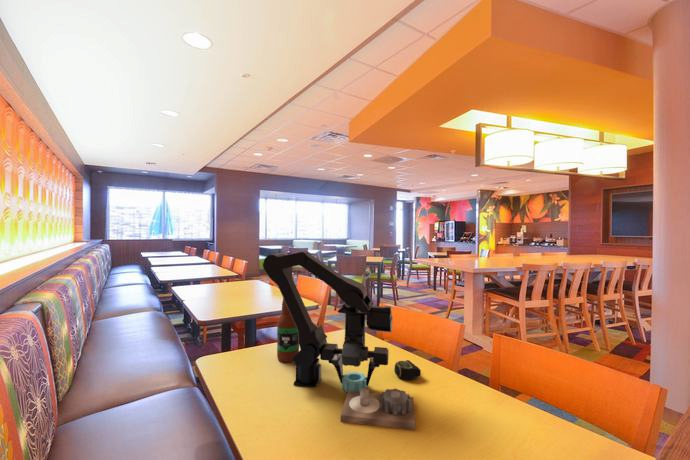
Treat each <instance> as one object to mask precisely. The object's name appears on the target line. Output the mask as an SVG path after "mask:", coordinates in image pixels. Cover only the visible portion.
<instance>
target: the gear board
mask: <svg viewBox="0 0 690 460" xmlns="http://www.w3.org/2000/svg"><path fill="white" fill-rule="evenodd" d="M346 393H347V394H346V397H345V400H344V403H343V406H342V409H341V413H340V422H341V423H342V422H343V423H351V424H361V425H368V426H377V427H385V428H394V429H401V430H402V429H403V430H413V431H416V416H415V405H414V404H415V403H414V397H412V396H410V394H409V393H406V391H405V390H402V389H401V390H400V389H398V388H392V389H390V388H387V389H385V391H381V393H373V392H370V389H369V388H368V387H367V388H362V389H360V392H354V391H348V392H346Z"/></svg>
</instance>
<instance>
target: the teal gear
mask: <svg viewBox="0 0 690 460" xmlns="http://www.w3.org/2000/svg"><path fill="white" fill-rule="evenodd" d="M341 388H342V389H343V390H344V391H345V392H346V393H348V391H354V392H360V389H362V388H367V389H368V386H367V375H365V373H363V372H362V373H361V372H358V371H352V372H351V371H349V372H347V373H343V378H342V383H341Z"/></svg>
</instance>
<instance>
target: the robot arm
mask: <svg viewBox="0 0 690 460" xmlns="http://www.w3.org/2000/svg"><path fill="white" fill-rule="evenodd" d="M296 266H297V267H298V266H300V267H302V268H303V269H304V270H306V271H307V272H309V273H311V274H312V275H314V277H316V278H318V279H319V280H320V281H321V282H324V284H326V285H327V286H329V287H330V288H332V290H333V291H334V292H335V293H336V295H337V296H338V298H339V299H341V300H342V301H343V302H344V303H343V304H342V305H341V307H340V308H339V309H338V310H337V312H338V313H339V314H344V341H343V343H342V348H339V345H338V343H328V341H327V338H328V336H327V334H326V333H325V331H324V327H323V325H322V324H320V325H318V326H317V325H316V324H315V323H314V322H313V321H312V319H311V316H310V313H309V312H308V310H307V307H306V306H305V303H304V301H303V299H302V297H301V294H300V292H299V290H298V288H297V285H296V283H295V281H294V279H293V267H296ZM262 268H263V270H264V272H265V273H266V275H267V276H268V278H269V279H270V280H271V281H272V282H273V283H274V284H275V285H276V286H277V287H278V289H279V292H280V293H281V295H282V299H283V298H284V300H285V303H286V305H287V307H288V309H289V312H290V314H291V316H292V318H293V320H294V323H295V325H296V327H297V329H298V340H299V352H298V353H297V354H296V355H295V356H294V357H293V364H294V366H295V380H294V382H293V386H301V387H309V388H310V387H311V388H315V387H317V385H318V383H319V382H320V380H321V379H322V364H321V363H320V360H321V361H328V363H329V364H332V365H333V367H334V369H335V370H336V373H337V376H338V379H339V381H340V384H342V378H343V375H344V368H343V366H345V367H347V366H351V367H352V366H353V367H354V368H355V367H356V368H358V367H360V365H361V362H362V363H363V362H367V361H368V360H369V362H368V369H367V375H366V376H367V387H368V386H369V384H370V381H371V378H372V375H373V373H374V371H375V369H376V368H379V367H380V366H388V364H389V357H390V356H389V349H388V348H387V347H384V346H383V347H381V346H375V347H374V350H369V346H366V327H367V329H369V330H370V331H371V332H383V333H392V331H393V319H394V318H393V313H392V306H388V305H387V306H386V305H385V306H379V305H375V303H374V302H373V301H372V300H371V298H370V297H369V295H368V291H367V287H366V286H365V285H364V284H363V283H361V282H360V281H357V280H354V279H352V278H349V277H346V276H344V275H342V274H340V273H339V272H337V271H336V270H334V269H333V268H332V267H330V266H328V265H327V264H326V263H324V262H322V260H320V259H319V258H317V257H316V256H314V255H312V254H311V253H310V252H309V251H308V250H301V251H297V252H296V253H289V254H286V253H284V252H278V253H274V254H270V255H269V254H268V255H267V256H266V257H265V258H264V260H263V263H262Z"/></svg>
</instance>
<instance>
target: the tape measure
mask: <svg viewBox="0 0 690 460" xmlns="http://www.w3.org/2000/svg"><path fill="white" fill-rule="evenodd" d="M421 371H422V370H421V369H420V368H419V367H418V366H417V365H416V364H414V363H413V362H411V360H409V359H408V360H398V361H397V362H395V364H394V373H395V375H396V376H397V377H398V378H400V379H403V380H413V379H415V378H419V377H420V376H421V374H422V373H421Z"/></svg>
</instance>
